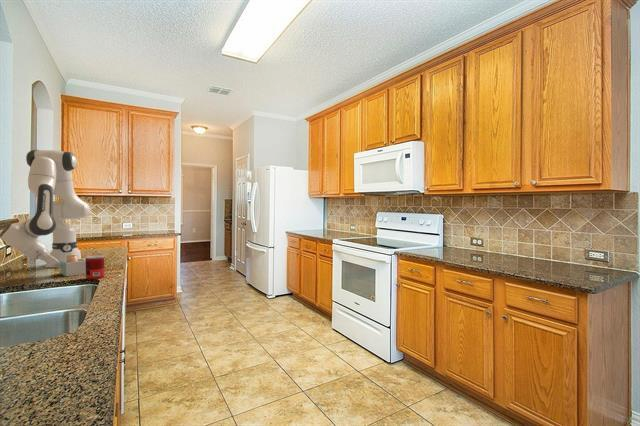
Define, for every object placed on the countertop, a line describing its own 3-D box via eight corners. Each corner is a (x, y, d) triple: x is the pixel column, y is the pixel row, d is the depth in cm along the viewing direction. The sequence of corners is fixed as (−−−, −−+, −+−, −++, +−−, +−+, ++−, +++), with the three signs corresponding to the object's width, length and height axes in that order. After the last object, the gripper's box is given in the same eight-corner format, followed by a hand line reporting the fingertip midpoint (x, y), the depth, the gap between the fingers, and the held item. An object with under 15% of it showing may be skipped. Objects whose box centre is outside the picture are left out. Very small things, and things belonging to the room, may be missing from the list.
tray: (60, 273, 176) (60, 260, 176) (82, 270, 184) (82, 258, 183) (64, 276, 170) (63, 262, 170) (87, 273, 177) (86, 260, 177)
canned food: (108, 276, 172) (107, 255, 171) (96, 279, 164) (95, 257, 163) (94, 275, 172) (94, 254, 172) (82, 279, 164) (81, 257, 164)
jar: (65, 271, 176) (64, 254, 176) (76, 269, 180) (75, 253, 180) (68, 272, 173) (68, 255, 173) (79, 270, 177) (78, 253, 177)
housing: (62, 273, 178) (61, 260, 177) (84, 270, 185) (84, 258, 185) (66, 276, 170) (66, 263, 170) (89, 273, 178) (89, 260, 177)
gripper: (45, 247, 160) (70, 265, 167) (38, 244, 174) (61, 260, 181) (33, 257, 157) (59, 275, 164) (27, 253, 170) (51, 269, 178)
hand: (60, 267), depth 173 cm, fingers closed, pressing on tray
